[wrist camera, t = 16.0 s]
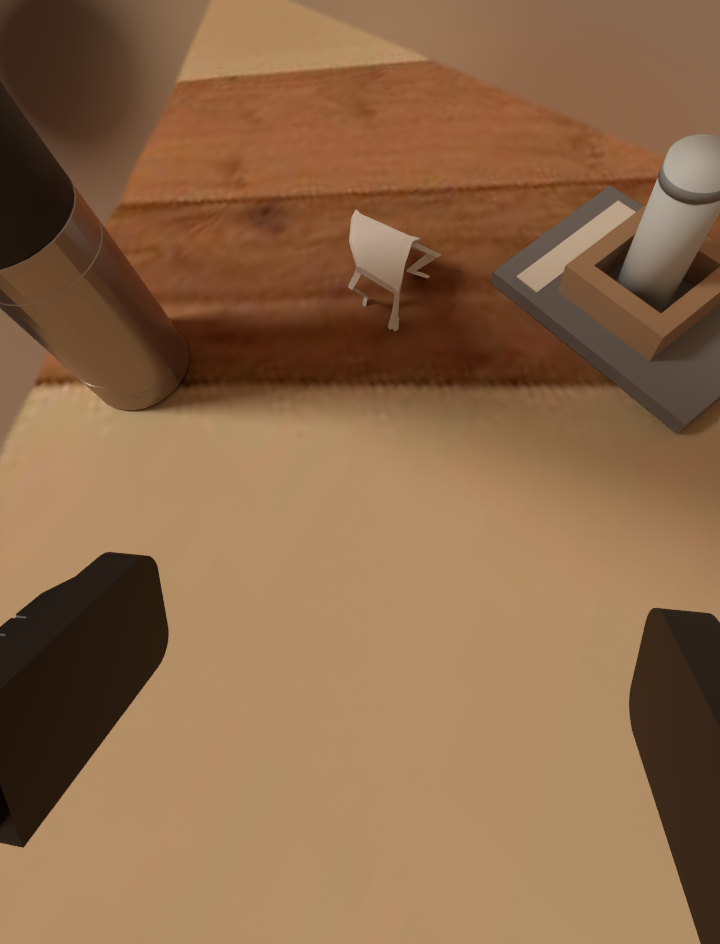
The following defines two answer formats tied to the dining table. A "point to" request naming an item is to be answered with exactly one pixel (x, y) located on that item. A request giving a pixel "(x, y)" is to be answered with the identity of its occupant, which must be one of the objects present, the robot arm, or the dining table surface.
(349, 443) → the dining table surface
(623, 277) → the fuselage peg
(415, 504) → the dining table surface
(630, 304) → the assembly jig
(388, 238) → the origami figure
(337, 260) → the dining table surface
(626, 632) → the dining table surface
